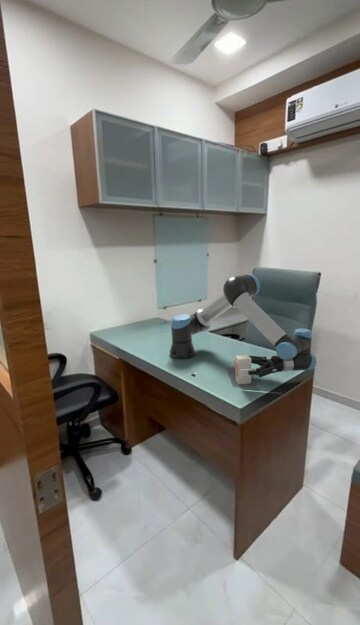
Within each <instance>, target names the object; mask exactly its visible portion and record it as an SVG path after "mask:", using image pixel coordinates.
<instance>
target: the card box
mask: <svg viewBox="0 0 360 625" xmlns="http://www.w3.org/2000/svg"><path fill="white" fill-rule="evenodd" d="M250 356H251V355H250ZM250 356H249V354H246V355H245V354H244V355H235V358H236V360H235V364H234V367H235V375H236V381H237V383H238V384H248V383H251V375H246V376H241V375H240V369H252V363H251V358H250Z"/></svg>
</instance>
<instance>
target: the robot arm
mask: <svg viewBox="0 0 360 625" xmlns="http://www.w3.org/2000/svg"><path fill="white" fill-rule="evenodd" d="M260 287H261V283H260V280H259V279H258V277H257V276H256V275H254V274H249V273H246V274H244V275H243V274H242V275H236V276H232V277H229V278H228V279H227V280H226V281H225V283H224V284H223V288H222V290H223V293H222V294H220V296H218V297H216V299H214V300H213V301H212V302H210V303H209V304H208V305H207V306H205V307H204V308H200V309H198V310H196V312H194V313H193V314H189V313H182V314H177V315H175V316H173V317H172V318H171V319H170V320H171V323H170V327H171V345H170V349H169V356H170V357H171V358H173V359H178V360H185V359H186V360H187V359H191V358H193V357H195V356H196V350H195V346H194V344H193V338H192V337H193V335H196V334H199V333H202V332H206V331H207V330H209V329H210V327H211V326H212V324H213V321H214V320H216V318H219V316H221V315H222V314H224V313H225V312H227V311H228V310H229V309H231V308H232V307H233V308H234V309H236V308H237V310H239V312H240V313H242V315H243V316H245V318H247V319H248V321H249V322H250V323H251V324H252V325H253V326H254V327H256V328H257V330H258V331H259V332H260V333H261V334H262V335H263V336H264V337H265V338H266V339H267V340H268V341H269V343H271V344H272V345H273V346H274V347H275V353H276V355H272V356H271V357H270V358H269V359H268V358H267V356H259V355H249V354H248V355H249V356H250V358H251V364H254V365H258V366H259V367H256V368H251V369H240V375H241V376H246V375H252V376H258V377H259V378H262V377H263V378H264V377H266V376H268V375H271V374H277V373H281V372H285V373H288V372H293V371H294V372H296V371H311V370H314V369H315V368H316V367H317V358H316V356H315V355H314V354H313V353H312V352H311V351H312V338H313V337H312V335H313V333H312V330H310V329H309V328H301V327H300V328H296V329H295V330H294V332H293V337H290V335H288V334H287V333H286V331H284V330H283V328H281V326H279V325H278V324H277V323H276V322H275V320H273V319H272V317H270V316H269V315H268V314H267V313H266V312H265V311H264V310H263V309H262V308H261V307H260V306H259V305H258V304H257V303H256V301H254V300H253V299H252V298H251V297H255V296H256V295H257V294H258V293H259V292H260ZM235 360H236V357H232V361H231V362H232V365H235Z"/></svg>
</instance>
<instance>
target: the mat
mask: <svg viewBox="0 0 360 625" xmlns="http://www.w3.org/2000/svg"><path fill="white" fill-rule="evenodd" d="M225 368H226V372H227V374H228V377H229V379H230V382H231V385H232V387H233V388H243V387H258V383H257V382H256V380H255V378H254V376H253V375H251V383H248V384H238V383H237V381H236V375H235V366H233V367H225Z"/></svg>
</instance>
